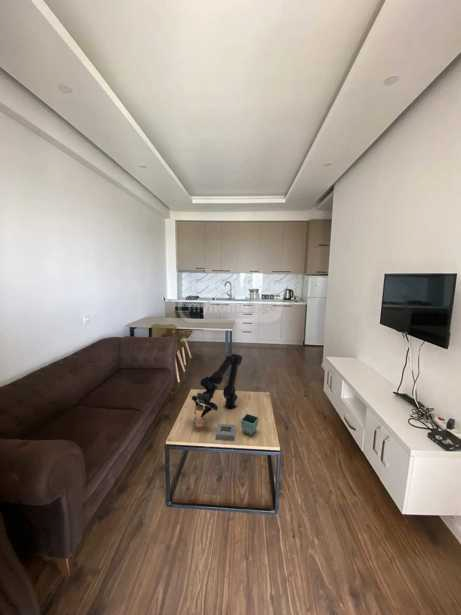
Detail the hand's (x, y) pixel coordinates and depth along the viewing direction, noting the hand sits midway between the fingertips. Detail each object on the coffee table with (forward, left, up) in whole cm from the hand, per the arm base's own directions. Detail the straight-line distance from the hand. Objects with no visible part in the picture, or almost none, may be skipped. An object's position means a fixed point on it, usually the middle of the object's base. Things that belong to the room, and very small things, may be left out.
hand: (198, 415), depth 158 cm
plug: (-1, 0, -7) cm, 7 cm away
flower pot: (-24, +22, -9) cm, 34 cm away
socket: (-11, +14, -9) cm, 20 cm away
